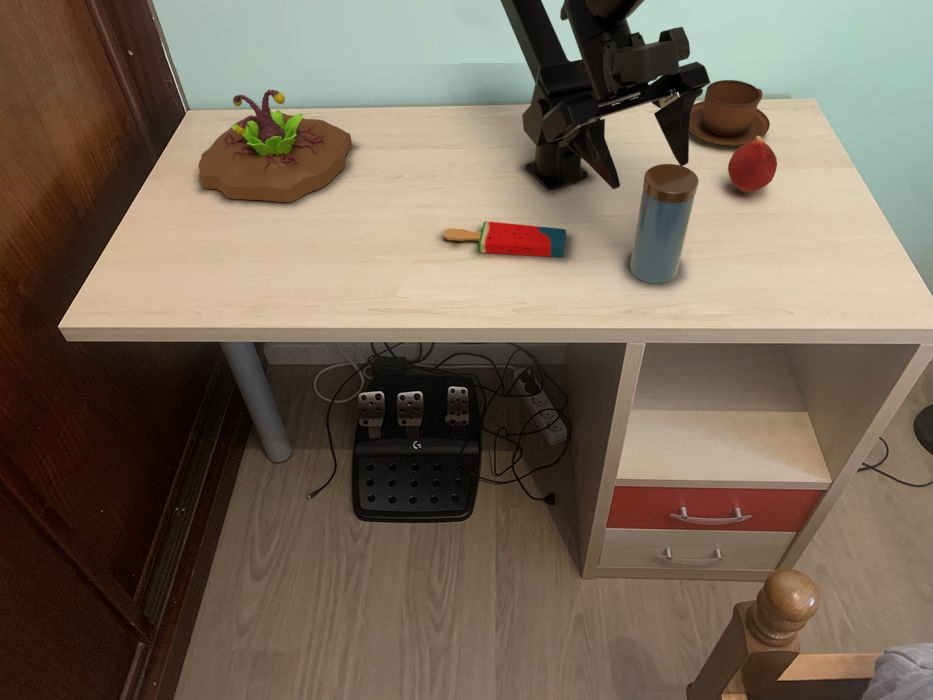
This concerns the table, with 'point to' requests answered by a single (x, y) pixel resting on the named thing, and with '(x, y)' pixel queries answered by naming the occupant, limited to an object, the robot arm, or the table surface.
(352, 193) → the table surface
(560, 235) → the popsicle
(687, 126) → the robot arm
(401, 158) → the table surface
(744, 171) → the onion
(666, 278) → the spice jar
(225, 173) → the plant
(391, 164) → the table surface
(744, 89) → the cup and saucer
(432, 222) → the table surface
